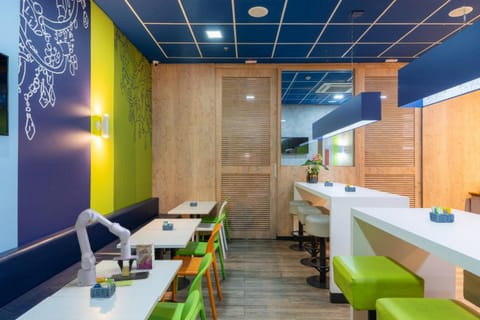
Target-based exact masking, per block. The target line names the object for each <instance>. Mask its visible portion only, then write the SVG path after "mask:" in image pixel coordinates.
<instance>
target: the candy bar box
mask: <svg viewBox="0 0 480 320" xmlns="http://www.w3.org/2000/svg"><path fill="white" fill-rule="evenodd" d="M135 256H138V259H137V260H136V259H135V260H136V262H135V263H136V264H135V265H136V270H153V269H154V268H155V267H156V261H155V243H154V242H151V243H150V242H148V243H147V242H146V243H144V242H142V243H141V242H140V243H137V244H136V245H135Z"/></svg>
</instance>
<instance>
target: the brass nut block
mask: <svg viewBox="0 0 480 320" xmlns="http://www.w3.org/2000/svg"><path fill="white" fill-rule="evenodd" d="M131 273H132V272H129V265H123V268H122V273H121V274H122V277H128V276H130V275H131Z"/></svg>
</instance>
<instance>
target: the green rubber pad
mask: <svg viewBox="0 0 480 320" xmlns="http://www.w3.org/2000/svg"><path fill="white" fill-rule="evenodd" d="M133 282H134V280H127V281H116V282H115V283H116V287H115V288H118V286H120V287H127V286H128V287H129V286H132V285H133Z"/></svg>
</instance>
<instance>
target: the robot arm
mask: <svg viewBox="0 0 480 320" xmlns="http://www.w3.org/2000/svg"><path fill="white" fill-rule="evenodd" d="M90 221H91V222H98V223H99V224H102V225H103V226H105V227H107V228H108V231H109V232H110V233H112V234H114V235H115V236H116V237H119V239H120V243H119V244H120V256H117V257H116V256H115V257H113V259H112V261H113V262H117V265H118V267H119V268H120V274H122V268H123V266H124V261H128V266H129V272H130V273H132V268H133V264H134V261H135V260H137V259H138V256H136V255H132V253H131V252H132V251H131V237H130V236H131V232H130V230H129V229H126V227H123V226H121V225H120V223H117V222H111V221H110V220H108V219H107V218H106V217H104V215H102V214H100V213H99V212H98V211H96V210H94V209H93V208H87V209H85V210H83V211H82V212H81V213H80V214H79V215H78V216H77V220H76V222H75V225H74V226H75V230H76V235H77V240H78V243H79V247H80V253H81V258H80V259H81V263H80V267H81V268H79V270H77V287H85V286H95V285H96V283H97V282H96V279H97V271H96V270H97V269H96V265H95V264H96V262H97V259H96V256H95V255H94V252H93V251H92V249H91V244H90V241H89V240H90V239H89V236H88V232H87V228H86V225H87V224H88V223H89V222H90Z"/></svg>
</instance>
